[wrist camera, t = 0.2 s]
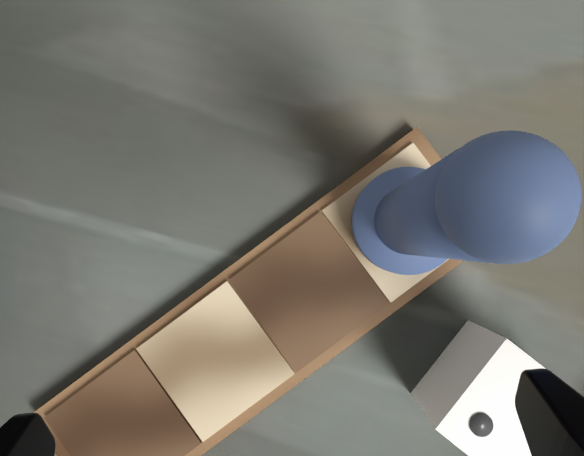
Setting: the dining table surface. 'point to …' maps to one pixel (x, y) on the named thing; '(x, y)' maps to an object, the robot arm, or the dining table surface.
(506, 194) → the pawn
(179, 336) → the board
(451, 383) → the white block
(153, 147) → the dining table surface
